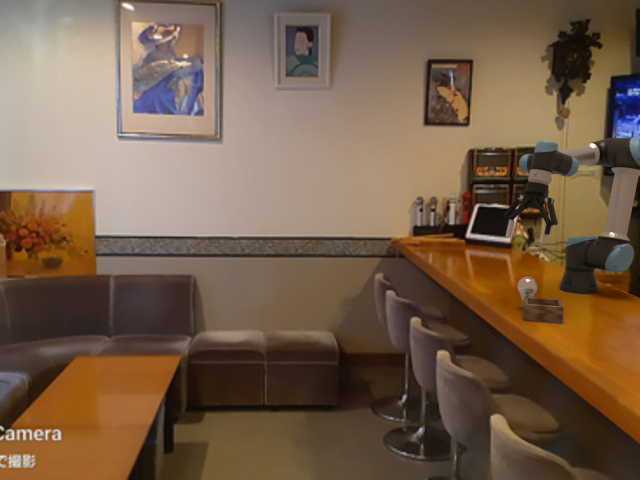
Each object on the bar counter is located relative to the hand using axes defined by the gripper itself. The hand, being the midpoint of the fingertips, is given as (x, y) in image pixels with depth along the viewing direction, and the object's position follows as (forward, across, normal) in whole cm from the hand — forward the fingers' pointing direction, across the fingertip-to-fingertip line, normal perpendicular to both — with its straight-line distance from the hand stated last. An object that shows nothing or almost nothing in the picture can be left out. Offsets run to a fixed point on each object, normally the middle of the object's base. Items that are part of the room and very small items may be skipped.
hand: (524, 240), depth 215 cm
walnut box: (+25, +12, +2) cm, 28 cm away
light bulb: (+24, +2, +8) cm, 26 cm away
